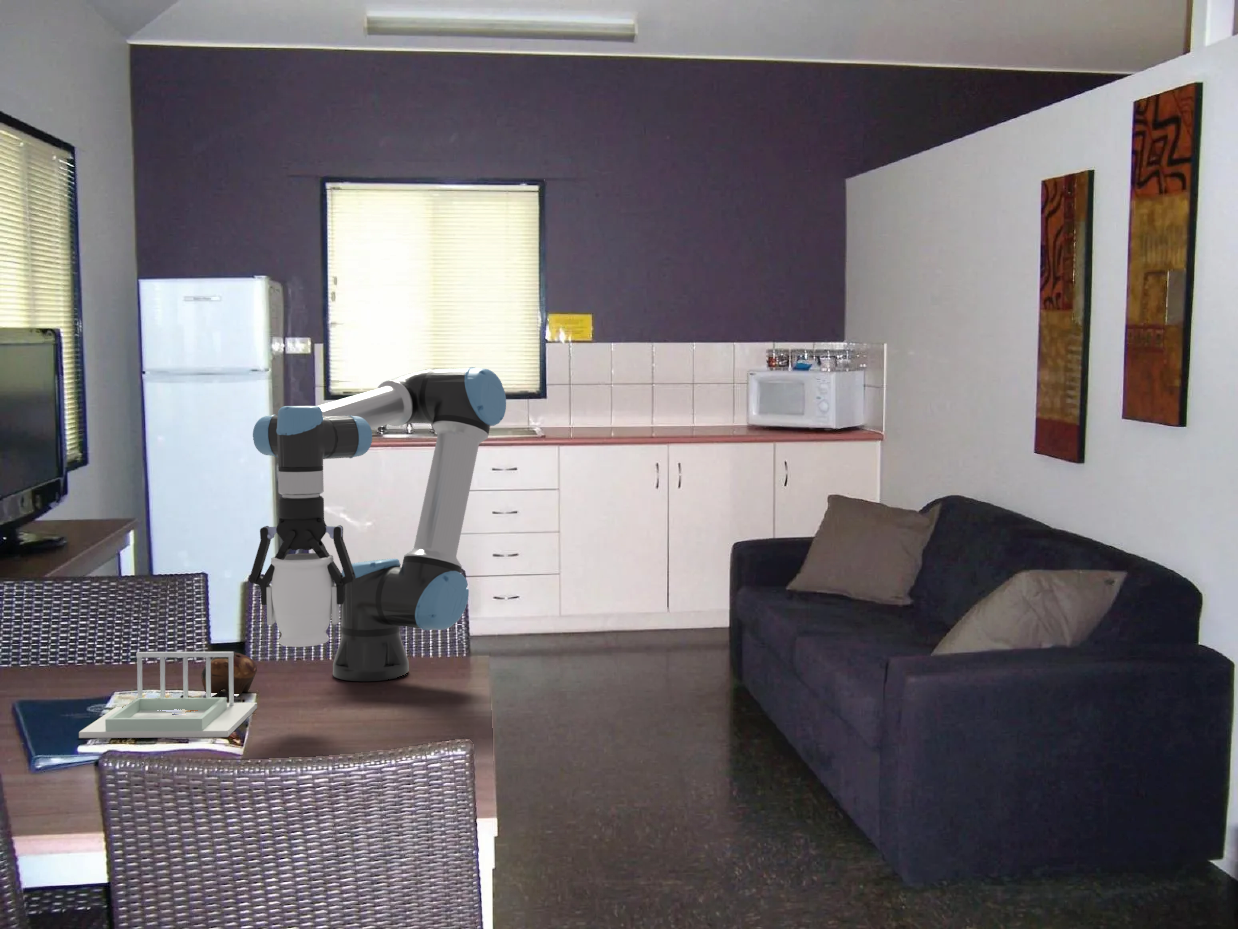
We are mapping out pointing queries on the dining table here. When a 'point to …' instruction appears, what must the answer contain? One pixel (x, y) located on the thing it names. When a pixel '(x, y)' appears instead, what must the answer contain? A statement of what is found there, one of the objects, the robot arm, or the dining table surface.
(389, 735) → the dining table surface
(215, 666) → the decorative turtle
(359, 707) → the dining table surface
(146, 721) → the dish rack
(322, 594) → the jar
